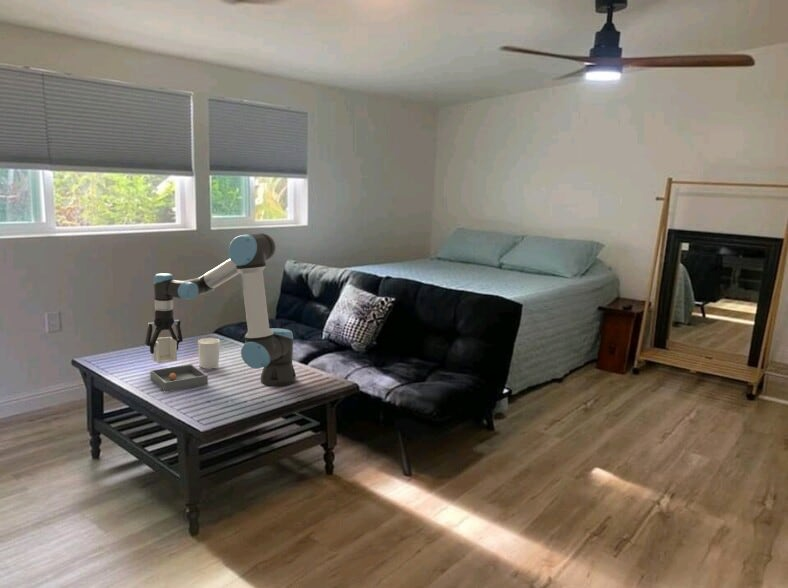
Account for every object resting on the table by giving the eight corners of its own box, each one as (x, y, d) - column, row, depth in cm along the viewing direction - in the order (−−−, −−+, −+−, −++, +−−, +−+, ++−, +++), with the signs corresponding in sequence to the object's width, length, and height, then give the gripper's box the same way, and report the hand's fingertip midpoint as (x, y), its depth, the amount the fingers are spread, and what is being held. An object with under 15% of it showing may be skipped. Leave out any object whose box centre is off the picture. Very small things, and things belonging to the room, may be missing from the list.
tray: (207, 384, 236) (207, 375, 235) (165, 392, 224) (164, 382, 224) (191, 372, 249) (191, 364, 248) (150, 379, 237) (150, 370, 237)
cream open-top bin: (176, 360, 248) (176, 341, 246) (158, 363, 243) (158, 343, 241) (170, 355, 254) (170, 336, 252) (152, 358, 249) (151, 338, 247)
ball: (178, 373, 237) (172, 370, 235) (177, 379, 235) (171, 376, 233) (174, 377, 238) (168, 373, 236) (172, 382, 236) (166, 379, 234)
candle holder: (193, 367, 256) (193, 342, 253) (205, 361, 265) (205, 336, 263) (212, 370, 253) (212, 344, 251) (224, 364, 263) (224, 339, 261)
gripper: (184, 305, 253) (184, 353, 258) (136, 309, 240) (137, 360, 244) (190, 308, 248) (191, 357, 252) (141, 312, 234) (142, 364, 239)
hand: (164, 358), depth 248 cm, fingers closed on cream open-top bin, 8 cm apart
